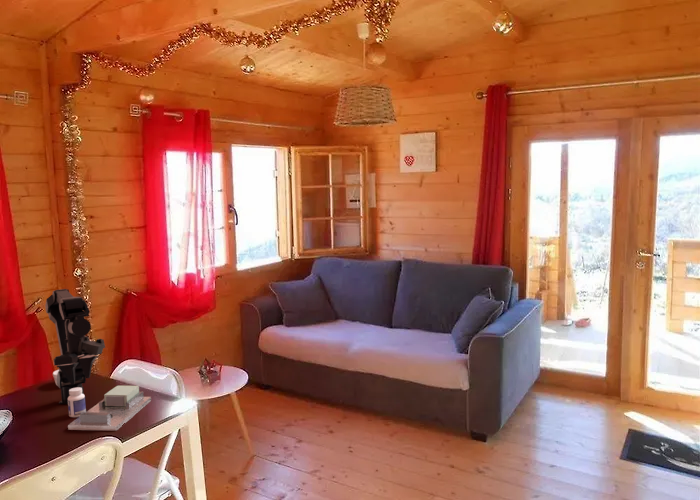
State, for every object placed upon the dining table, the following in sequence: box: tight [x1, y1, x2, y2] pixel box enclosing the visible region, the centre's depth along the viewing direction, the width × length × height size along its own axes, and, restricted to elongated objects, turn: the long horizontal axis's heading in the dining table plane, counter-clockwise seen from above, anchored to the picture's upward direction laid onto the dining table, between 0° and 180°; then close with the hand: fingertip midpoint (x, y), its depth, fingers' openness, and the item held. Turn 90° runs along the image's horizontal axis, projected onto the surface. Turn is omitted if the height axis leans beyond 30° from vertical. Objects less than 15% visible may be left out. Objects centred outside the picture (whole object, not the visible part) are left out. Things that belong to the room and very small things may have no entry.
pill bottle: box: [67, 387, 87, 418], centre depth 190 cm, size 5×5×9 cm
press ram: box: [103, 385, 140, 406], centre depth 197 cm, size 8×10×4 cm
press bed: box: [67, 390, 152, 432], centre depth 190 cm, size 16×25×4 cm, turn 175°
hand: (80, 381), depth 189 cm, fingers open, 9 cm apart
